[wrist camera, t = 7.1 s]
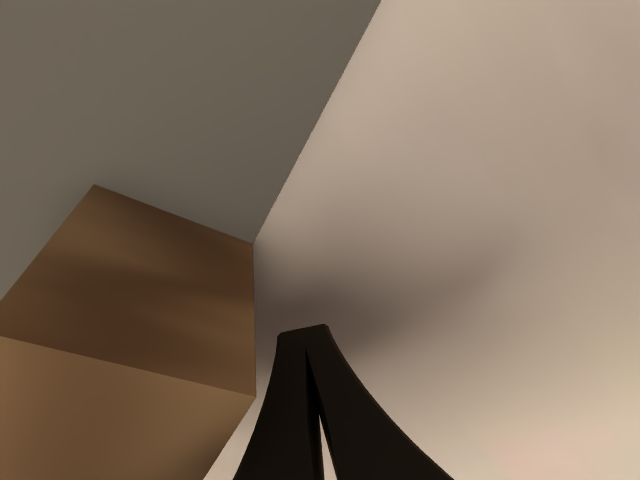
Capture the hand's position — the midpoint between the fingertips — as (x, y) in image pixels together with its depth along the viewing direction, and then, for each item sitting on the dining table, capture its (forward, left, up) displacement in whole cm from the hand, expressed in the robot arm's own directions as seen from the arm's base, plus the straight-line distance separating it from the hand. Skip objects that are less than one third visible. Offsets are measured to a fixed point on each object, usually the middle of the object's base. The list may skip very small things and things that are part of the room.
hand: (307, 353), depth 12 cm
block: (+5, 0, -1) cm, 5 cm away
